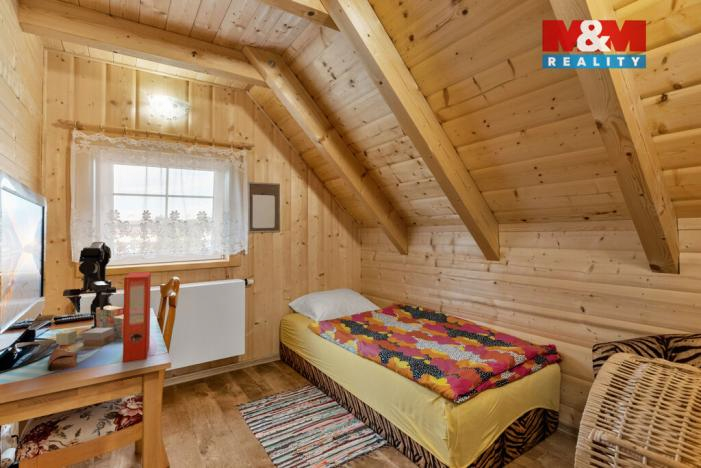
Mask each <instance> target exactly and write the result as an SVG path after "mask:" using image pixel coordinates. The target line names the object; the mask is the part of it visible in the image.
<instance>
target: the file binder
mask: <svg viewBox="0 0 701 468" xmlns="http://www.w3.org/2000/svg"><path fill="white" fill-rule="evenodd" d="M151 275H152V272H150V271H147V272H145V271H144V272H143V271H141V272H140V271H139V272H129V273H128V274H127V275H125V276H124V278H123V308H124V319H123V338H122V362H123V363H129V362H130V363H131V362H136V361H137V362H138V361H145V360H147V358H148V354H149V349H150V341H151V340H150V339H151V338H150V335H151V327H150V326H151V284H152V283H151V279H152V278H151V277H152V276H151Z"/></svg>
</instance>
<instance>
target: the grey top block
mask: <svg viewBox="0 0 701 468" xmlns="http://www.w3.org/2000/svg"><path fill="white" fill-rule="evenodd" d="M113 334H114V328H91V329H89V330H86V331H84V332H82V334H81V335H82V337H81V338H82V341H83V340H102V339H104V338H106V337H109V336H111V335H113Z"/></svg>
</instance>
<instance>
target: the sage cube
mask: <svg viewBox="0 0 701 468" xmlns="http://www.w3.org/2000/svg"><path fill="white" fill-rule="evenodd" d="M77 331H78V330H77V329H75V330H74V329H65V330H62V331H60V332H57V333H56V334H55V337H56V338H55V344H56V343H58V344H59V345H58V346H62V345H63V346H65V345H66V346H68V345H71V344H73V343H75V342H77V340H78V332H77Z"/></svg>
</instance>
